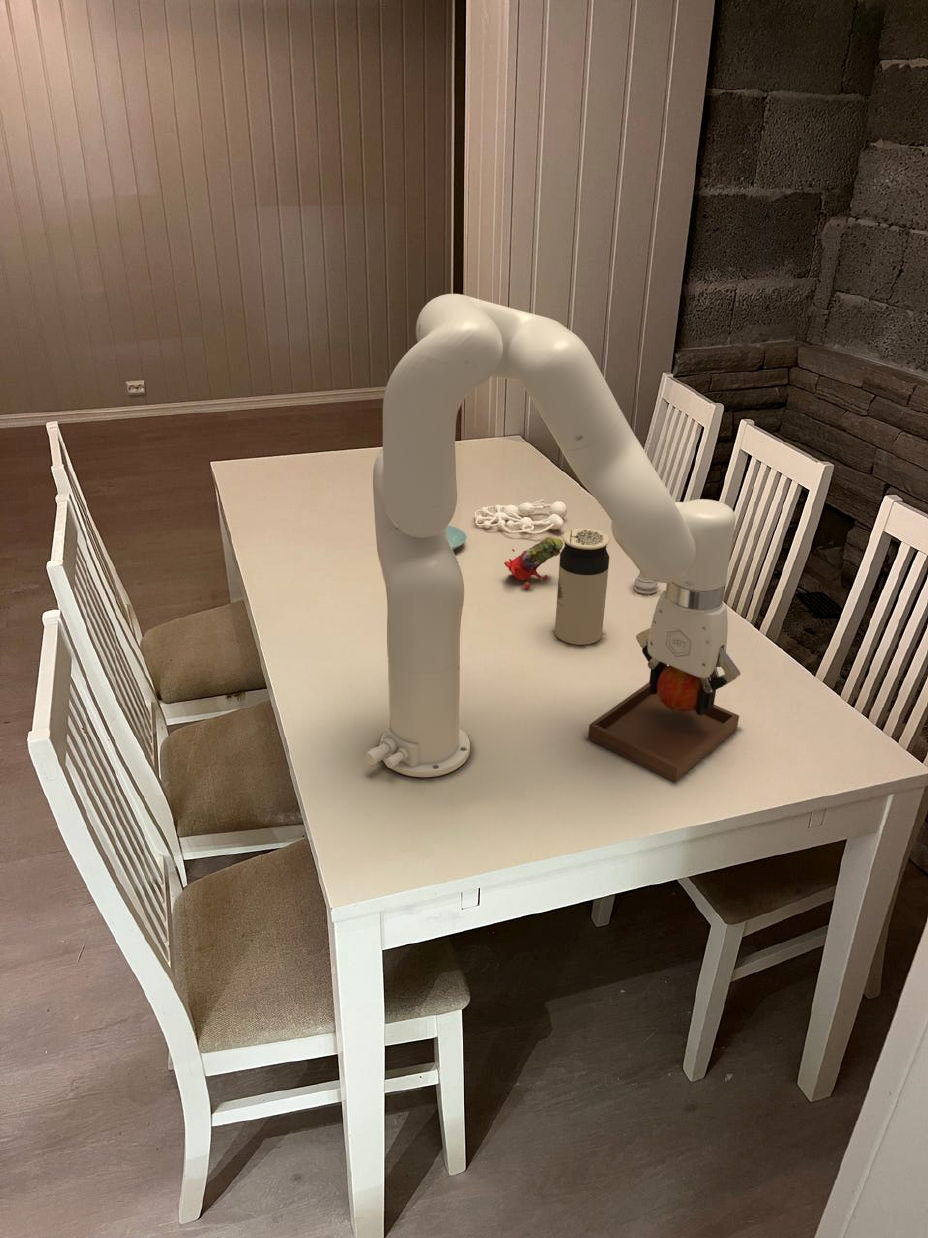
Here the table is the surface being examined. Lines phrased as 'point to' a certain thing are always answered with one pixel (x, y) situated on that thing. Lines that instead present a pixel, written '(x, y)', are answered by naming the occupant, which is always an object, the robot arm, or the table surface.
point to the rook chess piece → (645, 585)
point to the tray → (661, 733)
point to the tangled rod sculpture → (525, 524)
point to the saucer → (455, 536)
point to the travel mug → (582, 586)
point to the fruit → (678, 689)
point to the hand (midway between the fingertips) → (680, 699)
